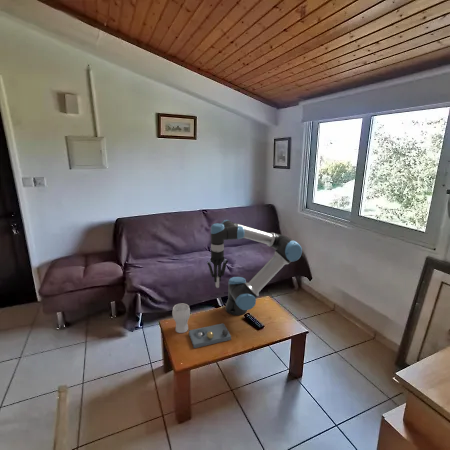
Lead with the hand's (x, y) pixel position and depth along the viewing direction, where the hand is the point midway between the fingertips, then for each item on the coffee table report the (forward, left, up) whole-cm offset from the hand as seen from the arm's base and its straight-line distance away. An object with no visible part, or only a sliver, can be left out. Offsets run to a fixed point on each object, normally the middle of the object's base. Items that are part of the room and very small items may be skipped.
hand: (217, 286), depth 168 cm
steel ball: (+13, +9, -25) cm, 30 cm away
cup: (+22, -2, -27) cm, 35 cm away
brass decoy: (+9, +14, -22) cm, 28 cm away
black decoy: (0, +15, -22) cm, 27 cm away
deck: (+8, +10, -26) cm, 29 cm away
